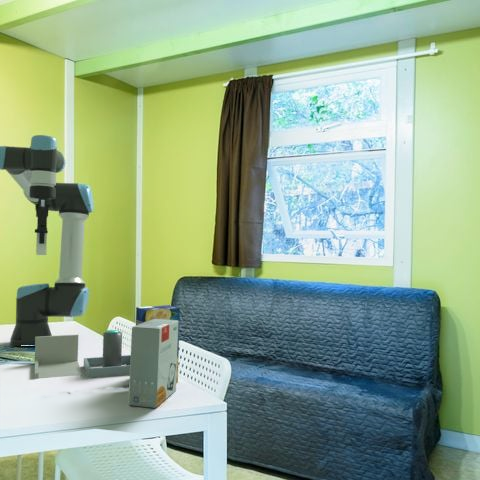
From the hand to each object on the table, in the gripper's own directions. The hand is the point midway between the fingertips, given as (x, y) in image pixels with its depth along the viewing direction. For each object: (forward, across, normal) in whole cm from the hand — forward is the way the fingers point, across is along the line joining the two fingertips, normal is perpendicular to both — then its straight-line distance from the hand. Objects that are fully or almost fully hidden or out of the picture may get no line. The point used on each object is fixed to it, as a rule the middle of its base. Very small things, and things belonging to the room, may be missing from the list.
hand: (41, 254), depth 149 cm
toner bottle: (+36, +10, +21) cm, 43 cm away
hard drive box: (+37, +36, +28) cm, 59 cm away
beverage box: (+37, +22, +32) cm, 54 cm away
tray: (+37, +10, +21) cm, 43 cm away
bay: (+37, +4, +6) cm, 37 cm away
